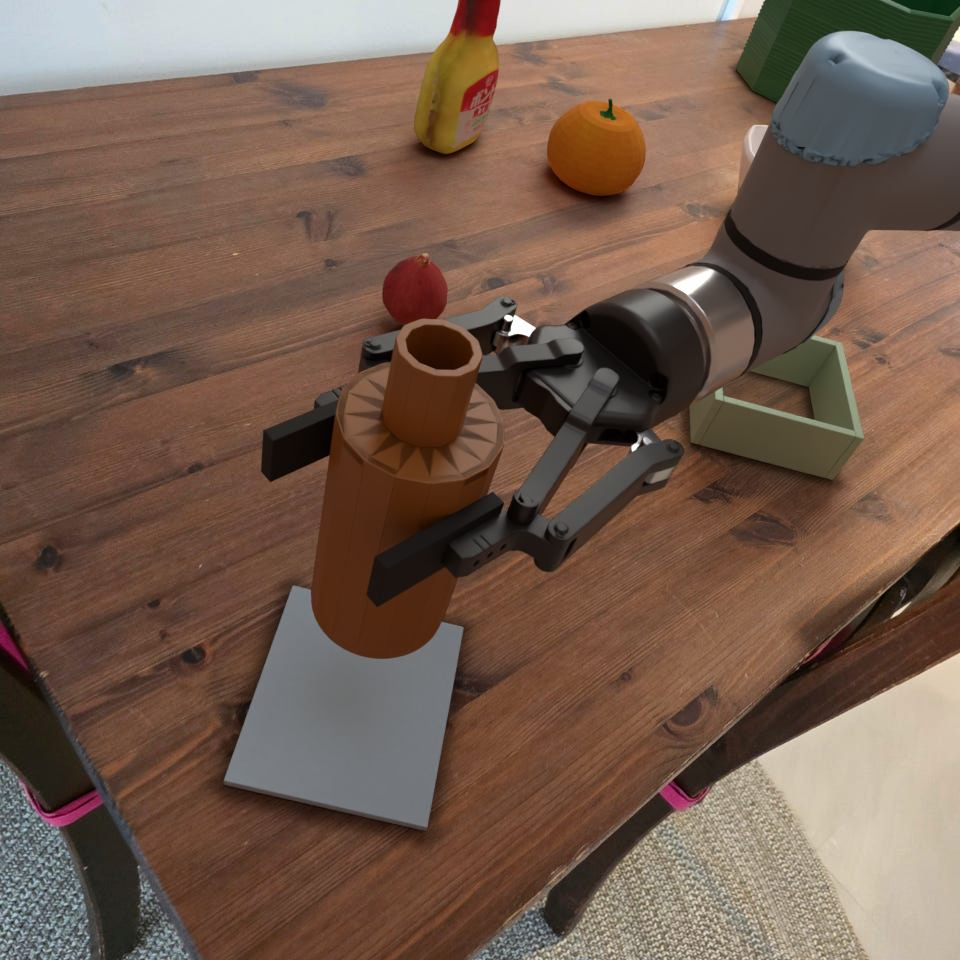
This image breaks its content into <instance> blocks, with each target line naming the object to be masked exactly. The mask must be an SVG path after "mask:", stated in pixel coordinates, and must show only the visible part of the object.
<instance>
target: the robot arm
mask: <svg viewBox="0 0 960 960" xmlns="http://www.w3.org/2000/svg"><path fill="white" fill-rule="evenodd" d="M768 125H769V126H768V128H767V130H766V132H765V135H764V137H763V139H762V141H761V144H760V146H759V148H758V150H757V153H756V155H755V157H754V159H753V161H752V164H751V166H750V168H749V170H748V172H747V174H746V177H745V179H744V181H743V183H742V185H741V187H740V190H739V192H738V194H737V193H736V196H735V198H734V201H733V202H732V204H731V205H730V207H729V209H728V211H727V213H726V215H725V217H724V218H723V221H722V223H721V224H720V227H719V228H718V230H717V233H716V235H715V237H714V239H713V241H712V243H711V245H710V247H709V249H708V251H707V252H706V254H704V256H703V257H701V258H699V259H698V260H696V261H694V262H692V263H691V262H690V263H688V264H686V265H684V266H683V267H679V268H676V269H674V270H671V271H669V272H666V273H664V274H662V275H659V276H657V277H654V278H651V279H649V280H646V281H644V282H641V283H639V284H637V285H634V286H633V287H632V288H630V289H627V290H624V291H622V292H620V293H617V294H615V295H612V296H610V297H607V298H605V299H603V300H600V301H597V302H596V303H593V304H591V305H589V306H587V307H585V308H584V309H582V310H580V312H578V313H577V314H576V315H575V316H573V317H572V318H570V319H569V320H567V322H565V323H562V324H543V325H540V326H537V327H535V326H534V325H532V324H530V323H529V322H527V321H526V320H525V319H523V318H522V317H520V316H518V315H516V312H517V309H518V302H517V300H515V299H514V298H513V297H510V296H507V295H500V296H498V297H496V298H494V299H493V300H492V301H491V302H489V303H487V304H486V305H485V306H483V307H482V308H481V309H478V310H473V311H469V312H465V313H461V314H457V315H453V316H450V317H446V318H441V320H446V321H448V322H451V323H453V324H456V325H458V326H461V327H463V328H465V329H466V330H467V331H468V332H469V333H470V334H471V335H473V336H474V337H475V338H476V339H477V340H478V341H479V344H480V348H481V351H482V355H483V358H482V362H481V365H480V369H479V372H478V375H477V379H476V382H475V383H476V384H477V385H478V386H479V387H480V388H481V389H483V390H484V391H485V392H486V393H487V394H488V395H489V396H490V397H491V398H492V399H493V400H494V401H495V403H496V405H497V408H498V410H499V411H506V410H516V409H517V410H518V409H524V411H526V412H527V413H528V414H530V415H532V416H534V417H535V418H537V419H539V421H540V423H541V424H542V425H543V427H544V428H545V430H546V431H547V432H548V433H549V434H550V435H551V436H553V439H552V440H551V442H550V443H549V444H548V446H547V447H546V449H545V450H544V452H543V453H542V455H541V456H540V458H539V459H538V460H537V462H536V463H535V465H534V466H533V468H532V469H531V470H530V472H529V474H528V475H527V477H526V478H525V480H524V481H523V482H522V484H521V485H520V487H519V488H518V490H516V489H515V490H514V492H513V494H512V497H511V500H510V503H509V505H508V507H506V508H505V509H503V508H504V505H505V502H504V501H503V500H502V499H501V498H500V497H499V496H498V495H497V494H496V493H495V492H494V491H491V492H490V493H487V495H486V496H484V497H482V498H481V499H479V500H477V501H475V502H474V503H472V504H470V505H468V506H466V507H464V508H463V509H461V510H459V511H457V512H455V513H453V514H451V515H450V516H448V517H446V518H444V519H442V520H441V521H439V522H437V523H435V524H433V525H431V526H430V527H428V528H426V529H424V530H422V531H421V532H419V533H417V534H415V535H413V536H411V537H410V538H408V539H406V540H404V541H402V542H401V543H399V544H397V545H395V546H393V547H391V548H390V549H388V550H386V551H384V552H382V553H381V554H379V555H377V556H375V558H374V562H373V567H372V571H371V576H370V580H369V585H368V589H367V594H366V595H367V596H368V597H369V599H370V600H371V601H372V602H373V603H374V604H375V606H376V607H379V606H381V605H382V604H384V603H386V602H387V601H389V600H391V599H392V598H394V597H396V596H397V595H399V594H401V593H403V592H404V591H406V590H408V589H409V588H411V587H413V586H414V585H416V584H418V583H419V582H421V581H423V580H424V579H426V578H428V577H430V576H431V575H433V574H435V573H436V572H438V571H440V570H441V569H443V568H445V567H446V568H447V569H448V571H449V572H450V573H451V574H452V575H453V576H454V577H455V578H458V579H459V578H465V577H468V576H470V575H472V574H473V573H476V571H478V570H479V569H482V568H483V567H485V566H486V565H488V564H490V563H491V562H493V561H495V560H496V559H498V558H499V557H501V556H503V555H504V554H506V553H507V552H515V551H518V552H522V553H523V554H526V555H527V556H529V557H531V558H532V559H533V563H534V566H535V567H536V568H537V569H538V570H540V571H542V572H544V573H553V572H556V570H558V569H559V568H560V567H561V566H563V565H564V563H565V562H567V560H569V559H570V558H571V557H572V556H573V555H575V553H576V552H578V551H579V550H580V549H581V548H582V547H583V546H584V545H586V543H587V542H589V541H590V540H591V539H592V538H593V537H594V536H595V535H596V534H597V533H598V532H600V531H601V530H602V529H603V528H604V527H605V526H606V525H607V524H608V523H610V522H611V521H612V520H613V519H614V518H615V517H616V516H617V515H618V514H619V513H621V512H622V511H623V510H624V509H625V508H626V507H627V506H628V505H629V504H630V503H632V502H633V501H634V500H635V499H636V498H637V497H639V496H643V495H645V494H649V493H653V492H656V491H658V490H661V489H663V488H665V487H666V486H667V484H668V482H669V480H670V479H671V477H672V476H673V474H674V472H675V470H676V468H677V467H678V465H679V463H680V461H681V459H682V458H683V456H684V454H685V448H684V446H683V444H682V443H680V441H677V440H675V439H673V438H666V439H661V438H660V437H659V436H658V434H657V433H655V431H654V428H655V427H657V426H659V425H661V424H662V423H664V422H665V421H668V420H669V419H671V418H673V417H674V416H676V415H678V414H680V413H681V412H683V411H685V410H686V409H687V408H688V407H689V406H690V405H692V404H695V403H696V402H698V401H700V400H702V399H703V398H705V397H707V396H708V395H710V394H712V393H713V392H715V391H717V390H719V389H720V388H722V387H723V388H724V387H725V386H728V385H729V384H730V383H732V382H735V381H736V380H738V379H739V378H741V377H743V376H744V375H745V374H747V373H749V372H751V370H753V369H755V368H756V367H758V366H760V365H762V364H764V363H766V362H768V361H769V360H771V359H773V358H775V357H777V356H779V355H781V354H785V353H787V352H789V351H791V350H794V349H796V348H797V347H798V346H799V344H802V343H806V342H807V341H808V340H809V339H810V338H811V337H812V336H813V335H815V334H816V333H818V332H819V331H820V330H821V329H823V328H825V326H826V325H827V324H828V323H829V322H831V320H833V318H834V316H835V315H836V313H837V312H838V310H839V308H840V307H841V304H842V301H843V296H844V283H845V282H844V281H845V271H844V269H845V268H846V266H847V265H848V263H849V261H850V259H851V258H852V256H853V255H854V253H855V251H856V250H857V248H858V247H859V245H860V244H861V243H862V241H863V239H864V237H865V236H866V235H867V234H868V233H869V232H870V231H906V232H907V231H909V232H910V231H914V232H915V231H917V232H932V231H941V232H942V231H945V232H946V231H947V232H949V231H950V232H960V93H951V92H950V83H949V81H948V78H947V76H946V74H945V73H944V71H942V70H941V68H940V67H939V66H938V65H935V64H934V63H933V62H932V61H931V60H929V59H928V58H926V57H925V56H923V55H922V54H920V53H918V52H916V51H915V50H913V49H911V48H909V47H907V46H905V45H902V44H900V43H898V42H895V41H892V40H890V39H887V40H884V39H881V38H878V37H876V36H874V35H872V34H868V33H864V32H857V31H840V32H835V33H831V34H829V35H827V36H825V37H823V38H821V39H820V40H818V41H817V42H816V43H815V44H814V45H813V46H812V47H811V48H810V50H809V51H808V53H807V55H806V56H805V58H804V60H803V62H802V63H801V65H800V67H799V68H798V70H797V71H796V72H795V74H794V76H793V77H792V79H791V81H790V83H789V85H788V87H787V89H786V91H785V92H784V94H783V96H782V98H781V99H779V101H778V102H777V103H776V105H775V106H774V108H773V110H772V112H771V116H770V121H769V123H768ZM869 230H870V231H869ZM868 231H869V232H868ZM867 232H868V233H867ZM400 330H401V329H397V330H393V331H388V332H386V333H382V334H378V335H373V336H369V337H367V338H364V340H363V341H362V346H361V351H360V357H359V364H358V370H357V374H358V373H359V372H362V371H364V370H367V369H369V368H372V367H374V366H377V365H379V364H382V363H386V362H391V359H392V354H393V349H394V344H395V338H396V336H397V335H398V333H399V332H400ZM491 353H494V354H491ZM347 384H348V383H345V384H343V385H341V386H339V387H335V388H333V389H331V390H330V389H329V390H327V391H326V392H323V393H321V394H320V395H318V397H316V399H315V400H314V402H313V403H314V404H313V409H311V410H309V411H306V412H304V413H301V414H299V415H296V416H294V417H292V418H289V419H287V420H284V421H282V422H280V423H276V424H275V425H273V426H270V427H267V428H265V429H263V430H262V446H261V464H260V472H261V473H262V475H263V476H264V477H265V478H266V480H267V481H268V482H269V483H272V482H274V481H276V480H278V479H280V478H283V477H285V476H287V475H291V474H292V473H294V472H296V471H298V470H301V469H303V468H305V467H308V466H309V465H311V464H314V463H316V462H318V461H321V460H323V459H325V458H327V457H329V456H330V449H331V441H332V434H333V427H334V420H335V413H336V409H337V405H338V400H339V396H340V392H341V390H342V389H343V388H344V387H345V386H346V385H347ZM589 444H591V445H602V446H603V445H605V446H615V447H626V448H627V447H630V448H629V451H628V453H627V454H626V456H625V457H624V458H622V459H621V460H620V461H618V463H617V464H616V465H614V466H613V467H612V468H610V469H609V471H607V472H606V473H605V474H604V475H603V476H601V477H599V479H597V481H595V482H594V483H592V485H591V486H589V487H588V488H587V489H586V490H585V491H584V492H582V493H581V494H580V495H579V496H578V497H576V498H575V499H574V500H573V501H572V502H571V503H569V504H568V505H567V506H566V507H565V508H564V509H562V510H561V511H560V512H559V513H557V514H556V516H554V517H553V518H552V519H549V518H547V517H545V516H544V515H543V514H544V512H545V511H546V509H547V507H548V505H549V504H550V503H551V502H552V499H553V498H554V496H555V495H556V493H557V491H558V490H559V488H560V487H561V485H562V483H563V482H564V480H565V479H566V477H567V476H568V474H569V473H570V471H571V470H572V469H573V468H574V467H575V465H576V463H577V462H578V460H579V459H580V457H581V456H582V454H583V453H584V451H585V450H586V448H587V446H588V445H589Z"/></svg>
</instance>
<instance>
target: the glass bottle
mask: <svg viewBox="0 0 960 960" xmlns="http://www.w3.org/2000/svg"><path fill="white" fill-rule="evenodd" d="M441 319H442V318H441ZM441 319H440V318H439V319H438V318H437V319H419V320H417V321H414V322H411V323H409V324H406V325H403V326H402V328H401V329H399V330H400V332H399V333H398V335H397V336H396V338H395V344H394V349H393V354H392V359H391V362H386V363H382V364H379V365H377V366H374V367H372V368H369V369H367V370H364V371H362V372H359V373H358V372H357V374H356V375H355V376H354V377H353V378H352V379H350V380H349V382H348V383H346V384H347V385H346V386H345V387H344V388H343V389H342V390H341V392H340V396H339V400H338V405H337V409H336V413H335V420H334V427H333V434H332V441H331V449H330V456H328V466H327V471H326V478H325V484H324V485H325V486H324V493H323V499H322V500H323V501H322V508H321V515H320V522H319V529H318V536H317V544H316V551H315V557H314V558H315V559H314V565H313V566H314V567H313V573H312V574H313V575H312V578H311V579H312V580H311V587H310V590H311V605H312V611H313V614H314V617H315V619H316V621H317V623H318V625H319V627H320V628H321V629H322V631H323V632H324V633H325V634H326V635H327V637H328V638H329V639H330V640H332V641H333V642H334V643H335V644H337V645H338V646H340V647H341V648H343V649H345V650H347V651H349V652H351V653H353V654H356V655H359V656H363V657H367V658H374V659H390V658H397V657H401V656H405V655H408V654H410V653H413V652H414V651H416V650H418V649H420V648H421V647H423V646H424V645H425V644H427V643H428V642H429V641H430V640H431V639H432V638H433V636H434V635H435V634H436V632H437V631H438V629H439V627H440V625H441V622H443V621H444V619H445V617H446V614H447V611H448V608H449V605H450V603H451V600H452V597H453V594H454V592H455V587H456V585H457V583H458V580H459V578H455V577H454V576H453V575H452V574H451V573H450V572H449V571H448V569H447V568H446V567H445V568H443V569H441V570H440V571H438V572H436V573H435V574H433V575H431V576H430V577H428V578H426V579H424V580H423V581H421V582H419V583H418V584H416V585H414V586H413V587H411V588H409V589H408V590H406V591H404V592H403V593H401V594H399V595H397V596H396V597H394V598H392V599H391V600H389V601H387V602H386V603H384V604H382V605H381V606H379V607H376V606H375V604H374V603H373V602H372V601H371V600H370V599H369V597H368V596H367V595H366V594H367V589H368V585H369V580H370V576H371V571H372V567H373V562H374V558H375V556H377V555H379V554H381V553H382V552H384V551H386V550H388V549H390V548H391V547H393V546H395V545H397V544H399V543H401V542H402V541H404V540H406V539H408V538H410V537H411V536H413V535H415V534H417V533H419V532H421V531H422V530H424V529H426V528H428V527H430V526H431V525H433V524H435V523H437V522H439V521H441V520H442V519H444V518H446V517H448V516H450V515H451V514H453V513H455V512H457V511H459V510H461V509H463V508H464V507H466V506H468V505H470V504H472V503H474V502H475V501H477V500H479V499H481V498H482V497H484V496H486V495H488V494H489V490H490V488H491V485H492V482H493V479H494V477H495V473H496V470H497V468H498V465H499V461H500V459H501V456H502V454H503V450H504V447H505V435H506V433H505V431H506V423H505V421H504V418H503V416H502V414H501V411H500V409H498V407H497V405H496V403H495V401H494V400H493V399H492V398H491V397H490V396H489V395H488V394H487V393H486V392H485V391H484V390H483V389H481V388H480V387H479V386H478V385H477V384H476V383H475V382H476V379H477V375H478V372H479V369H480V365H481V362H482V358H483V355H482V351H481V348H480V344H479V341H478V340H477V339H476V338H475V337H474V336H473V335H471V334H470V333H469V332H468V331H467V330H466V329H465V328H463V327H461V326H458V325H456V324H453V323H451V322H448V321H446V320H441Z"/></svg>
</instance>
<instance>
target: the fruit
mask: <svg viewBox="0 0 960 960" xmlns="http://www.w3.org/2000/svg"><path fill="white" fill-rule="evenodd" d="M607 101H608V102H606V101H600V100H587V101H585V102H581V103H579V104H576V105H574V106H572V107H571V108H569V109H567V110H566V111H565V112H564V113H563V114H562V115H560V116H559V118H557V120H556V121H555V122H554V124H553V125H552V127H551V129H550V132H549V135H548V140H547V145H546V157H547V161H548V164H549V166H550V169H551V170H552V172H553V174H554V175H555V176H556V177H557V178H558V179H559V180H560V181H561V182H562V183H563V184H565V185H567V186H568V187H570V189H573V190H576V191H577V192H580V193H583V194H587V195H591V196H600V197H604V196H614V195H617V194H620V193H622V192H624V191H627V190H628V189H629V188H630V187H631V186H633V184H634V183H635V182H636V180H637V179H638V178H639V176H640V175H641V174H642V171H643V169H644V166H645V163H646V156H647V145H646V139H645V135H644V133H643V131H642V129H641V126H640V125H639V123H638V121H637V120H636V118H635V116H633V115H632V114H631V113H630V112H629V111H628V110H625V109H624V108H622V107H620V106H618V105H616V104H614V103H613V99H612V98H608V99H607Z"/></svg>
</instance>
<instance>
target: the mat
mask: <svg viewBox="0 0 960 960" xmlns="http://www.w3.org/2000/svg"><path fill="white" fill-rule="evenodd" d="M464 630H465V628H464V626H461V625H456V624H453V623H449V622H444V621H442V622H441V625H440V627H439V629H438V631H437V632H436V634H435V635H434V636H433V638H432V639H431V640H430V641H429V642H428V643H427V644H425V645H424V646H423V647H421V648H420V649H418V650H416V651H414V652H413V653H410V654H408V655H405V656H401V657H397V658H390V659H374V658H367V657H363V656H359V655H356V654H353V653H351V652H349V651H347V650H345V649H343V648H341V647H340V646H338V645H337V644H335V643H334V642H333V641H332V640H330V639H329V638H328V637H327V635H326V634H325V633H324V632H323V631H322V629H321V628H320V627H319V625H318V623H317V621H316V619H315V617H314V614H313V611H312V605H311V588H305V587H303V586H302V587H301V586H298V585H292V586H291V589H290V592H289V595H288V597H287V599H286V603H285V606H284V608H283V611H282V615H281V616H280V620H279V622H278V625H277V629H276V631H275V634H274V637H273V640H272V643H271V646H270V648H269V651H268V654H267V657H266V660H265V662H264V665H263V668H262V671H261V673H260V677H259V678H258V682H257V684H256V687H255V690H254V692H253V693H254V694H253V696H252V699H251V701H250V704H249V708H248V710H247V713H246V716H245V719H244V721H243V724H242V727H241V730H240V733H239V736H238V739H237V741H236V744H235V747H234V749H233V753H232V756H231V758H230V761H229V763H228V766H227V770H226V772H225V775H224V778H223V785H224V786H228V787H231V788H232V787H233V788H237V789H241V790H245V791H250V792H254V793H259V794H262V795H266V796H272V797H276V798H281V799H285V800H288V801H294V802H297V803H301V804H306V805H311V806H314V807H315V806H316V807H320V808H324V809H328V810H332V811H336V812H341V813H346V814H349V815H355V816H358V817H363V818H367V819H372V820H376V821H381V822H385V823H389V824H394V825H398V826H401V827H406V828H411V829H415V830H420V831H425V832H426V831H427V830H428V827H429V821H430V816H431V812H432V811H431V810H432V804H433V799H434V793H435V789H436V782H437V778H438V771H439V766H440V762H441V761H440V760H441V756H442V751H443V750H442V749H443V746H444V745H443V744H444V739H445V733H446V728H447V723H448V716H449V712H450V707H451V700H452V695H453V689H454V683H455V679H456V673H457V668H458V663H459V662H458V661H459V657H460V651H461V647H462V646H461V645H462V639H463V635H464Z"/></svg>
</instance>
